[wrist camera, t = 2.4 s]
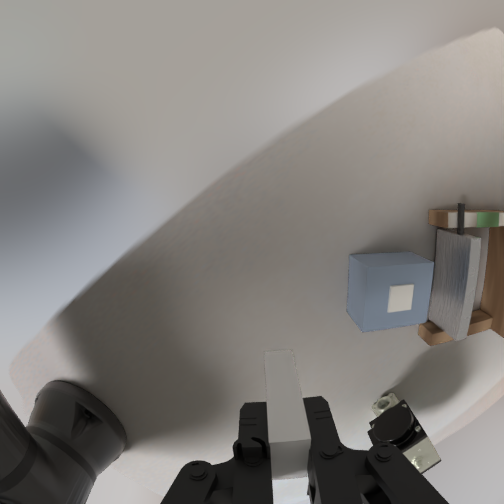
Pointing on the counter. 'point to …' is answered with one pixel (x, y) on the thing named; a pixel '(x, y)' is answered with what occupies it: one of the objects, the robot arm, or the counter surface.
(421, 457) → the pneumatic valve
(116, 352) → the counter surface
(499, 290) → the gauge frame
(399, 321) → the blue block
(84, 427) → the robot arm
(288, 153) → the counter surface
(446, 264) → the grey flat panel
